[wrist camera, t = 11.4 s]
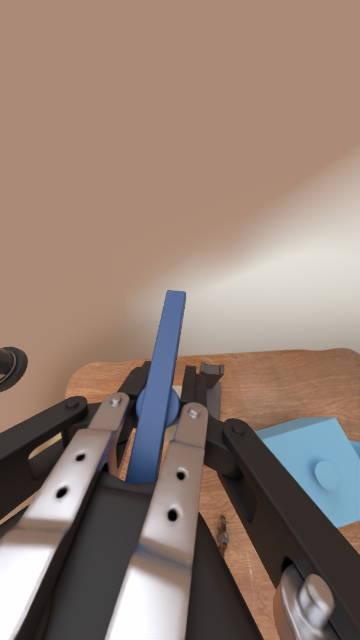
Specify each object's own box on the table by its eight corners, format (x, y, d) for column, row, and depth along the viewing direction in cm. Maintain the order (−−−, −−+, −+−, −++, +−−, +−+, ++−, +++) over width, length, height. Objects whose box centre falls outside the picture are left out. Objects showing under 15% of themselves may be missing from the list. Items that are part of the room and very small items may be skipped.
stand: (184, 439, 39) (181, 452, 24) (190, 379, 44) (190, 359, 30) (218, 444, 38) (236, 461, 23) (219, 382, 44) (235, 364, 29)
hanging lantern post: (229, 513, 32) (232, 541, 28) (218, 559, 32) (219, 594, 28) (219, 508, 33) (221, 535, 28) (208, 553, 32) (207, 588, 28)
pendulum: (135, 489, 16) (30, 623, 6) (162, 349, 22) (137, 287, 12) (191, 501, 16) (194, 675, 5) (203, 354, 22) (216, 293, 11)
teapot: (250, 508, 33) (286, 560, 21) (228, 437, 38) (246, 447, 26) (358, 472, 35) (449, 501, 23) (323, 409, 40) (381, 406, 28)
